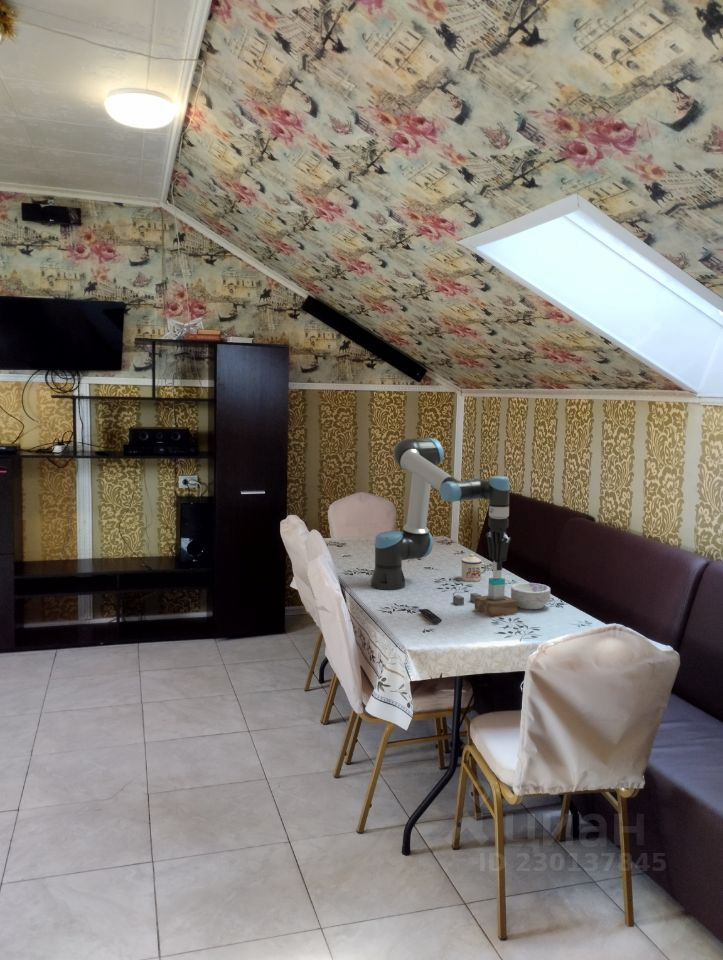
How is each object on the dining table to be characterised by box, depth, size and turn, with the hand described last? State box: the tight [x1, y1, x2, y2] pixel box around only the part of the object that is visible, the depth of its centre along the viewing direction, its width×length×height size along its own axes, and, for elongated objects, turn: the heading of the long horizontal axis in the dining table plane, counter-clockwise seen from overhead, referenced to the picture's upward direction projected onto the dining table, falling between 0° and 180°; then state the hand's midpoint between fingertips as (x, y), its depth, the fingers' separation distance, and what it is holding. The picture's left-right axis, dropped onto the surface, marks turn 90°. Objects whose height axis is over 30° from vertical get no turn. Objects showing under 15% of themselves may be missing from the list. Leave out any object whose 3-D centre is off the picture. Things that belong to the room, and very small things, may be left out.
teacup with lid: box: [461, 553, 488, 582], centre depth 341 cm, size 12×9×12 cm
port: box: [474, 595, 518, 618], centre depth 291 cm, size 11×12×5 cm
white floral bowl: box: [510, 582, 551, 610], centre depth 298 cm, size 15×15×8 cm
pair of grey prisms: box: [452, 592, 482, 606], centre depth 303 cm, size 4×11×3 cm, turn 116°
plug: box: [487, 577, 506, 601], centre depth 290 cm, size 4×5×12 cm
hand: (497, 578), depth 290 cm, fingers closed
